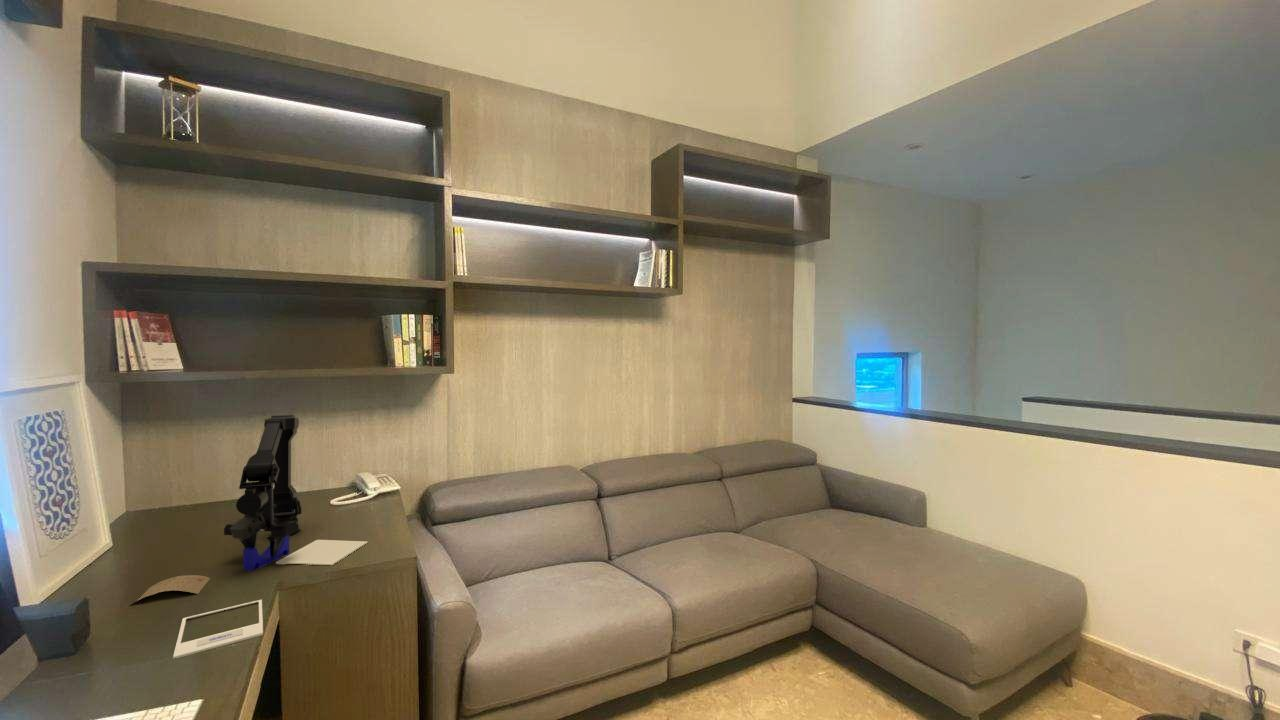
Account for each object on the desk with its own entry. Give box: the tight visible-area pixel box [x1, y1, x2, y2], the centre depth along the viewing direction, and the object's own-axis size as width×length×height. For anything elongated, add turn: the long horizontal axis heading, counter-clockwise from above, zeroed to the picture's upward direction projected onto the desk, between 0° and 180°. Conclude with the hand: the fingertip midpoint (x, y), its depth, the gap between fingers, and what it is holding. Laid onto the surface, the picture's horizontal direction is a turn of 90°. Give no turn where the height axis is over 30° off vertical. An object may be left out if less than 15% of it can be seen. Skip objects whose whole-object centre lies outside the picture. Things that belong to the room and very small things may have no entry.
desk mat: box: [275, 539, 369, 566], centre depth 156 cm, size 17×17×1 cm
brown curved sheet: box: [133, 574, 211, 604], centre depth 131 cm, size 14×10×3 cm
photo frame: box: [172, 599, 264, 660], centre depth 115 cm, size 15×1×18 cm
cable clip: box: [242, 535, 290, 572], centre depth 150 cm, size 12×4×6 cm, turn 170°
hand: (262, 557), depth 150 cm, fingers open, 6 cm apart
